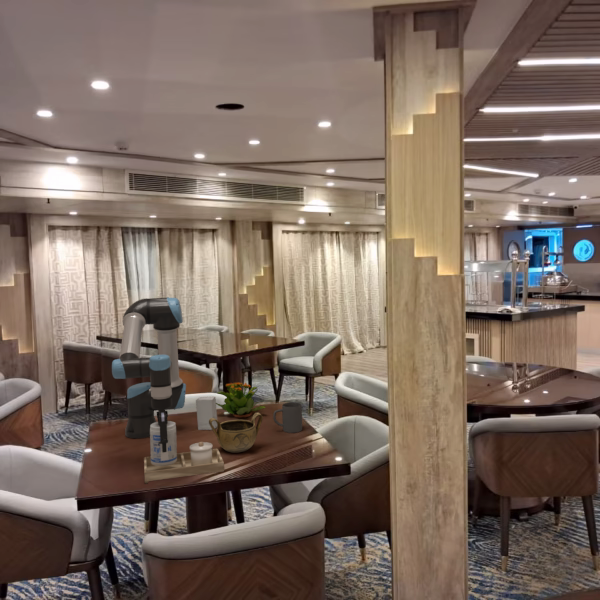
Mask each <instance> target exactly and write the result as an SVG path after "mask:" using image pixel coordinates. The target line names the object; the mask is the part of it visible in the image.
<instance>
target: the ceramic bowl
mask: <svg viewBox="0 0 600 600" xmlns="http://www.w3.org/2000/svg"><path fill="white" fill-rule="evenodd" d="M257 417H258V418H257ZM256 419H258V420H257V423H256ZM214 420H215V421H216V422H217V426H218V427H217V428H214V427H213V425H212V421H214ZM263 420H264V416H263V415H262V414H261V413H260V412H259V411H258V412H257V411H256V412H255V413H254V414H253V415H252V416H251V420H247V419H230V420H226V421H222V422H221V423H220V421H219V420H218V418H217V419H215V418H210V419H209V424H210V426H211V428H212V430H211V431H213V433H214V435H215V436H216V439H217V442H218V444H219V446H220V447H221V448H222V449H223V450H225V451H226V452H228V453H233V454H235V453H237V454H239V453H242V452H247V451H248V450H249V449H251V448H252V447H253V445H254V444H255V443H256V439H257V436H258V433H259V431H260V428H261V426H262V422H263Z"/></svg>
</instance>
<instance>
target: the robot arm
mask: <svg viewBox="0 0 600 600" xmlns="http://www.w3.org/2000/svg"><path fill="white" fill-rule="evenodd" d="M183 322H184V319H183V313H182V307H181V303H180V300H179V299H178V298H177V297H168V296H167V297H156V298H155V297H154V298H153V297H152V298H151V297H150V298H141V299H138V300H137V301H134V302H133V303H132V304H131V305H129V306H128V307H127V308H126V310H125V311H124V314H123V316H122V326H123V331H122V337H121V339H122V340H121V345H120V351H119V357H118V358H117V359H114V360H112V362H111V374H112V377H113V378H114V379H116V380H119V379H120V380H121V379H123V380H126V379H127V380H128V379H136V378H137V379H138V378H150V379H149V380H150V382H149V381H146V382H141V383H136V384H133V385H131V386H129V387H128V388H127V391H126V393H127V395H126V396H127V397H126V400H127V414H128V415H127V417H128V419H127V421H126V422H127V423H126V427H125V429H124V435H125V436H124V437H126V438H130V439H142V438H143V439H144V438H145V439H146V438H150V425H151V424H153V423H155V422H158V425H159V426H160V442H158V444H160V452H161V461H165V460H169V459H168V439H167V424H168V421H169V420H168V417H169V413H168V410H179V409H180V410H181V409H183V408H184V407H185V403H186V391H187V390H186V389H187V384H186V383H184V380H183V379H182V378H181V377H180V369H179V368H180V367H179V354H178V353H179V350H178V334H177V330H178V329H180V326H181V325H180V324H182V323H183ZM146 325H152V326H153V330H155V331H156V334H157V337H156V338H157V349H158V351H157V352H158V354H155V355H151V356H149V357H140V356H141V355H140V354H141V347H142V336H143V329H144V328H145V326H146ZM155 412H156V417H155ZM156 418H157V420H156ZM163 439H166V440H163Z"/></svg>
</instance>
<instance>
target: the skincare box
mask: <svg viewBox="0 0 600 600" xmlns="http://www.w3.org/2000/svg"><path fill="white" fill-rule="evenodd" d="M216 403H217V401H216V396H199V397H198V398H196V399H195V406H196V407H195V408H196V419H197V429H198V431H203V430H204V431H206V430H207V431H209V430H210V431H213V430H212V428H211V426H210V424H209V419H210V418H215V419H217V420H218V413H217V411H218V410H217V404H216ZM212 425H213V427H214V428H215V429H217V427H218V426H217V422H216V421H215V420H214V421H212Z"/></svg>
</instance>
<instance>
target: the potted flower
mask: <svg viewBox="0 0 600 600" xmlns="http://www.w3.org/2000/svg"><path fill="white" fill-rule="evenodd" d="M225 387H226V388H227V389H226V390H227V391H228V392H225V391H223V390H220V391H217V393H216V394H217V395H221V396H224V397H225V398H224V400H223V402H224V403H223V404H221V403H217V402H216V406H219V407H220V408H222V410H223V411H225V412H227V413H229V414H231V415H232V416H233V417H234V418H239V419H240V418H247V417H248V418H249V417H250V416H251V417H252V414H253V412H257V411H260V410H263V409H266V408H267V406H266V407H265V406H261V405H260V406H256V405H257V404H258V402H256V403H255V401H254V400H255V398H253V397H254V395H255V393H256V392H257V391H258V387H257V386H253V387H252V386H251V385H250V384H248V383H247V382H244V384H243V382H238V381H237V382H233V383H232V382H230V383H226V384H225ZM249 388H250V389H249ZM242 389H243V390H242ZM248 389H249V391H247V390H248ZM246 392H247V393H246ZM255 406H256V407H255Z"/></svg>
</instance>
